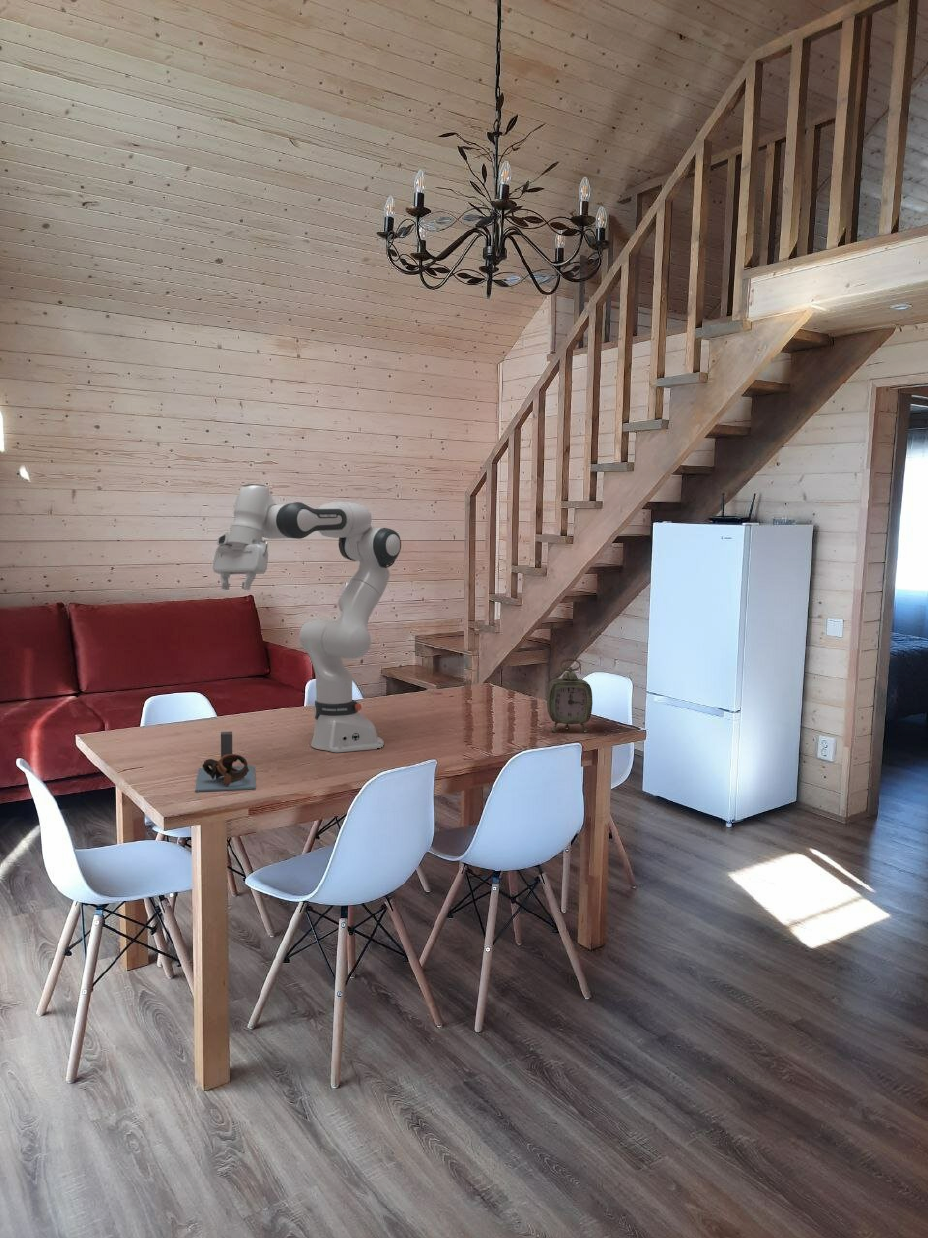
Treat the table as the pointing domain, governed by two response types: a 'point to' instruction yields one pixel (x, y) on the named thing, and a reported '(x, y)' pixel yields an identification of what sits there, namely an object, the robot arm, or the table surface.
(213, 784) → the grey base with post
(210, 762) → the brown looped bands
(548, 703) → the tabletop clock
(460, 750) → the table surface
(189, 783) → the table surface
